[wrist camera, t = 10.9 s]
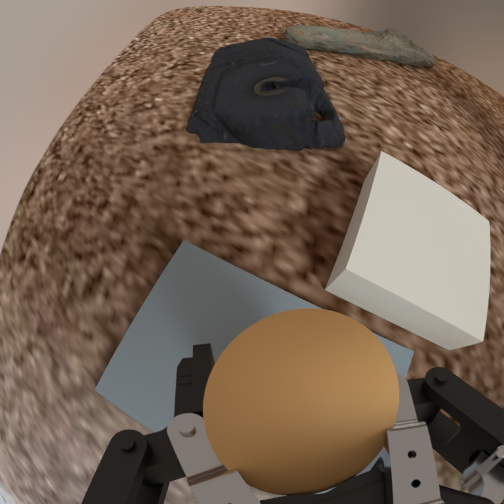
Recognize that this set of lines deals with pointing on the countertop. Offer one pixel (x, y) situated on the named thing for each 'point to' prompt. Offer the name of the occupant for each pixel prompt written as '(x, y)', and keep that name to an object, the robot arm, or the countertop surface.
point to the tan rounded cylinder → (301, 401)
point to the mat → (193, 330)
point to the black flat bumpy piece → (264, 99)
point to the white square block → (416, 257)
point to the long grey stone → (360, 43)
